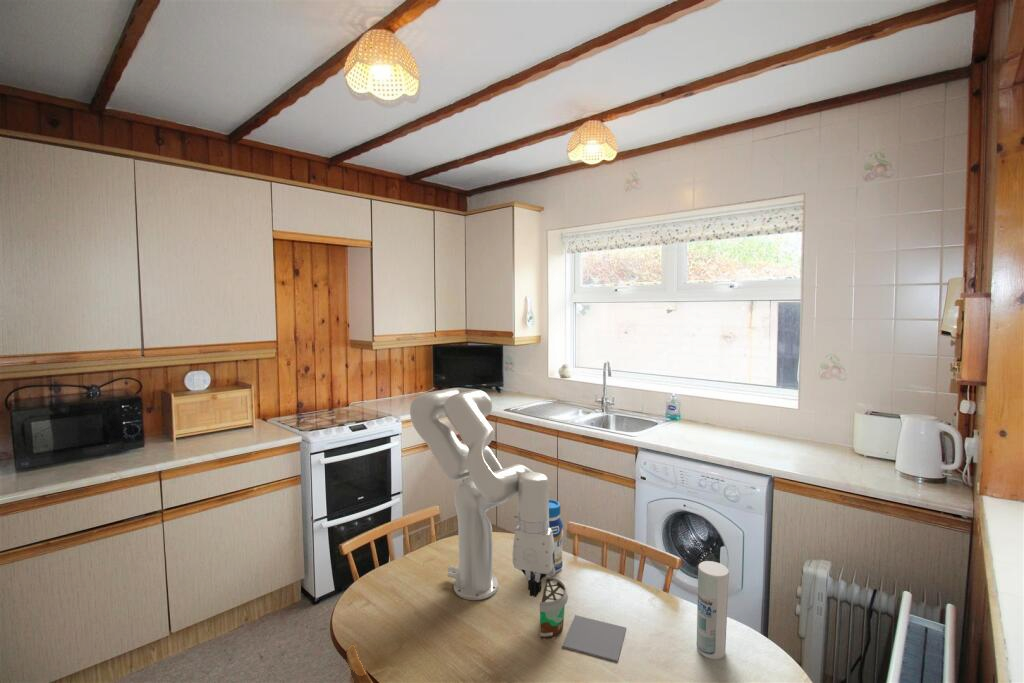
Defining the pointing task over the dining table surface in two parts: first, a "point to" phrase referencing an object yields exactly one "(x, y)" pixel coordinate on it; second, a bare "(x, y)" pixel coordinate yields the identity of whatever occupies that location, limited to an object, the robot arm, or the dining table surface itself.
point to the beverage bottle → (556, 532)
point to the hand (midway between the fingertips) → (534, 593)
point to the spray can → (712, 609)
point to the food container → (552, 608)
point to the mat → (595, 638)
